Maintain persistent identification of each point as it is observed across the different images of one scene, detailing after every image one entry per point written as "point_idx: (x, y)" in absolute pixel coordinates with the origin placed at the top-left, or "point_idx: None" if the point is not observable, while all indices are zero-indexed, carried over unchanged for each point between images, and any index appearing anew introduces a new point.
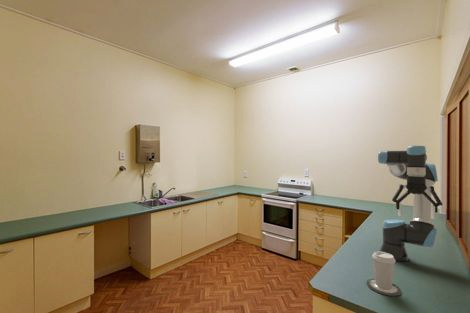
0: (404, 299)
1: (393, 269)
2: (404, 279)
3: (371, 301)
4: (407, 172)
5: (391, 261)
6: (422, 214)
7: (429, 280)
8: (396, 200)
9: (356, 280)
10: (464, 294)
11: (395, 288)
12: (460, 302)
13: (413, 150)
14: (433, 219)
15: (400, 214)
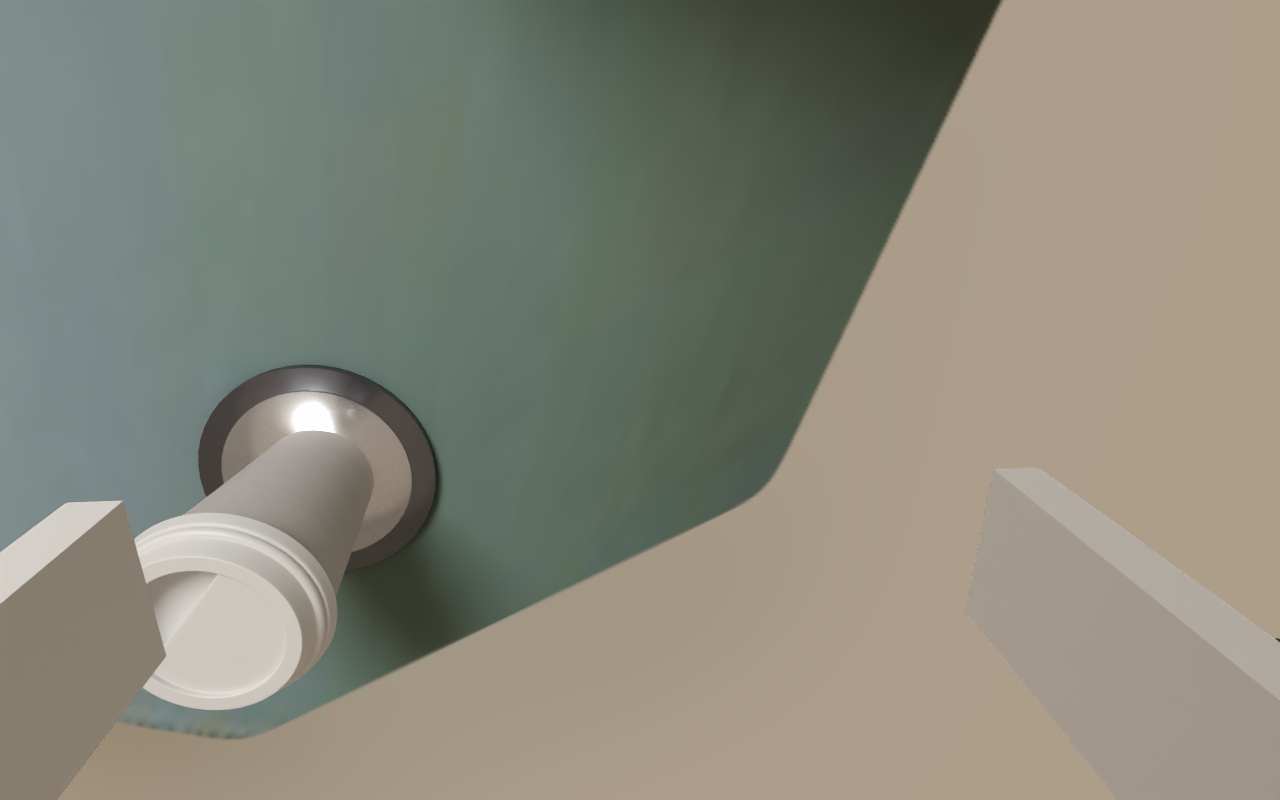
0: (445, 559)
1: (342, 577)
2: (490, 240)
3: None
4: None
5: (294, 680)
6: None
7: (692, 152)
8: None
9: (125, 454)
10: (855, 296)
11: (399, 474)
12: (772, 431)
13: None
14: (975, 611)
15: (105, 704)
